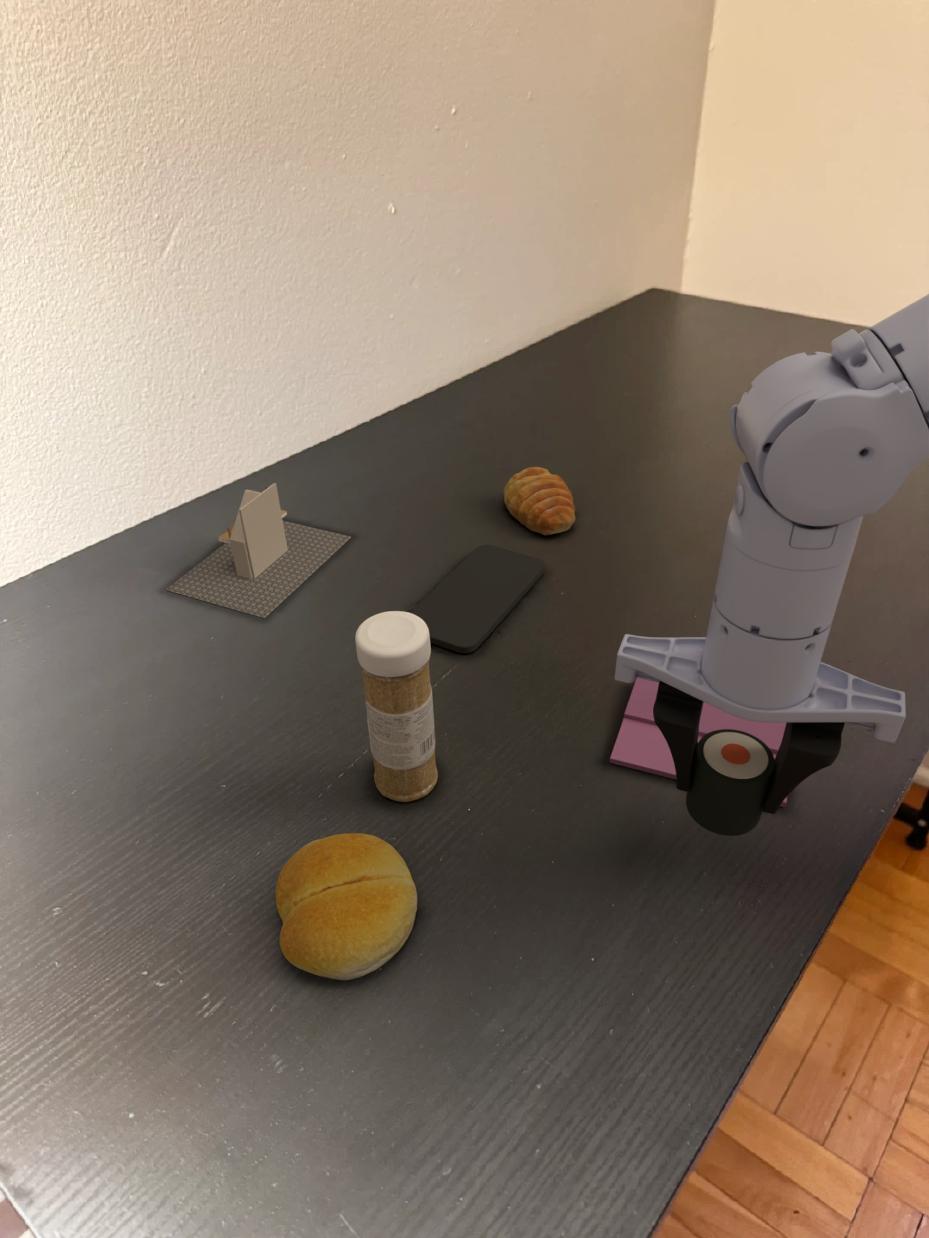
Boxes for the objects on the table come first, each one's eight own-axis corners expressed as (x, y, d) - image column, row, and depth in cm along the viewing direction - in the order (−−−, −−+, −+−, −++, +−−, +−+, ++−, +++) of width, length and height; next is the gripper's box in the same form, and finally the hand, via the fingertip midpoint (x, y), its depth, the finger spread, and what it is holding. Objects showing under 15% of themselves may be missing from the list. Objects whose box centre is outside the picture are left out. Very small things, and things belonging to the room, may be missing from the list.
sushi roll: (764, 790, 52) (779, 736, 49) (756, 845, 49) (772, 791, 46) (691, 772, 53) (702, 719, 51) (679, 824, 50) (690, 770, 47)
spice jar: (402, 747, 62) (388, 599, 54) (451, 774, 60) (444, 624, 52) (360, 786, 59) (338, 635, 51) (410, 816, 57) (395, 663, 49)
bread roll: (288, 1003, 47) (276, 963, 44) (275, 871, 54) (264, 831, 51) (434, 965, 48) (430, 925, 46) (402, 842, 55) (398, 801, 53)
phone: (395, 624, 72) (481, 541, 83) (396, 632, 73) (481, 549, 83) (470, 650, 69) (549, 561, 80) (470, 658, 70) (549, 568, 80)
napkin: (794, 719, 63) (797, 711, 63) (785, 807, 57) (787, 798, 56) (636, 684, 67) (637, 675, 66) (609, 762, 60) (610, 754, 60)
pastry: (591, 532, 85) (593, 499, 83) (529, 545, 84) (529, 512, 82) (554, 491, 93) (555, 459, 90) (497, 502, 91) (496, 470, 89)
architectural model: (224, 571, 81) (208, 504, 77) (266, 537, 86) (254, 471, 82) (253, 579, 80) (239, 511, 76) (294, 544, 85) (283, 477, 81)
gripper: (929, 589, 43) (859, 773, 51) (644, 539, 47) (622, 716, 55) (936, 675, 37) (857, 865, 46) (615, 610, 42) (595, 794, 50)
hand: (727, 789), depth 50 cm, fingers closed on sushi roll, 4 cm apart
